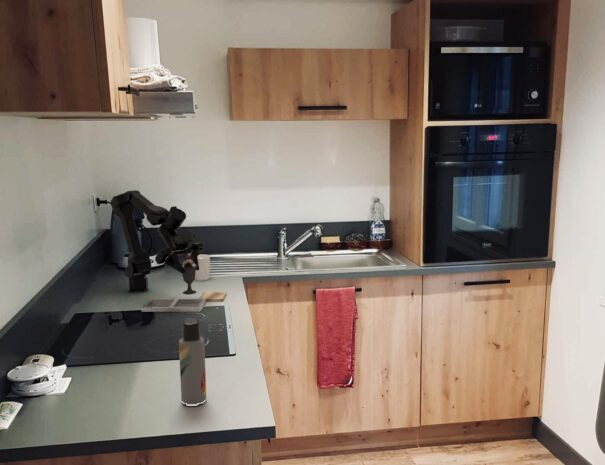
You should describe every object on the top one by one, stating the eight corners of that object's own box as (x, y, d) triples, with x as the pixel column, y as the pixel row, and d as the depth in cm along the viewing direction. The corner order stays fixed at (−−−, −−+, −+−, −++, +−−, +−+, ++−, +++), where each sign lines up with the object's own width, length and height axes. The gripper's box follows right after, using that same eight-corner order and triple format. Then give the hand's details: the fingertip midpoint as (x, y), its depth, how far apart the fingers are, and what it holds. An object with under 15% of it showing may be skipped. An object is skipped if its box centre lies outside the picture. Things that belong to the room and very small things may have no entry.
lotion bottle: (208, 395, 130) (205, 315, 127) (204, 407, 125) (201, 323, 121) (183, 396, 130) (180, 315, 127) (179, 407, 124) (175, 323, 121)
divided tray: (141, 311, 193) (141, 307, 193) (150, 302, 204) (150, 298, 204) (200, 311, 193) (200, 307, 193) (206, 302, 204) (206, 298, 204)
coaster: (198, 301, 205) (198, 299, 205) (203, 294, 214) (203, 292, 214) (222, 301, 205) (222, 299, 205) (226, 294, 214) (226, 292, 213)
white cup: (212, 276, 241) (212, 254, 240) (207, 281, 234) (207, 258, 232) (195, 276, 242) (194, 254, 240) (190, 281, 234) (189, 258, 233)
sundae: (188, 289, 203) (187, 249, 200) (202, 291, 200) (201, 251, 197) (176, 293, 197) (174, 252, 194) (190, 296, 194) (189, 255, 191)
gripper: (158, 227, 189) (179, 263, 184) (200, 220, 203) (221, 254, 198) (146, 246, 196) (166, 281, 191) (188, 238, 210) (207, 271, 205)
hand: (191, 271), depth 196 cm, fingers closed on sundae, 6 cm apart
